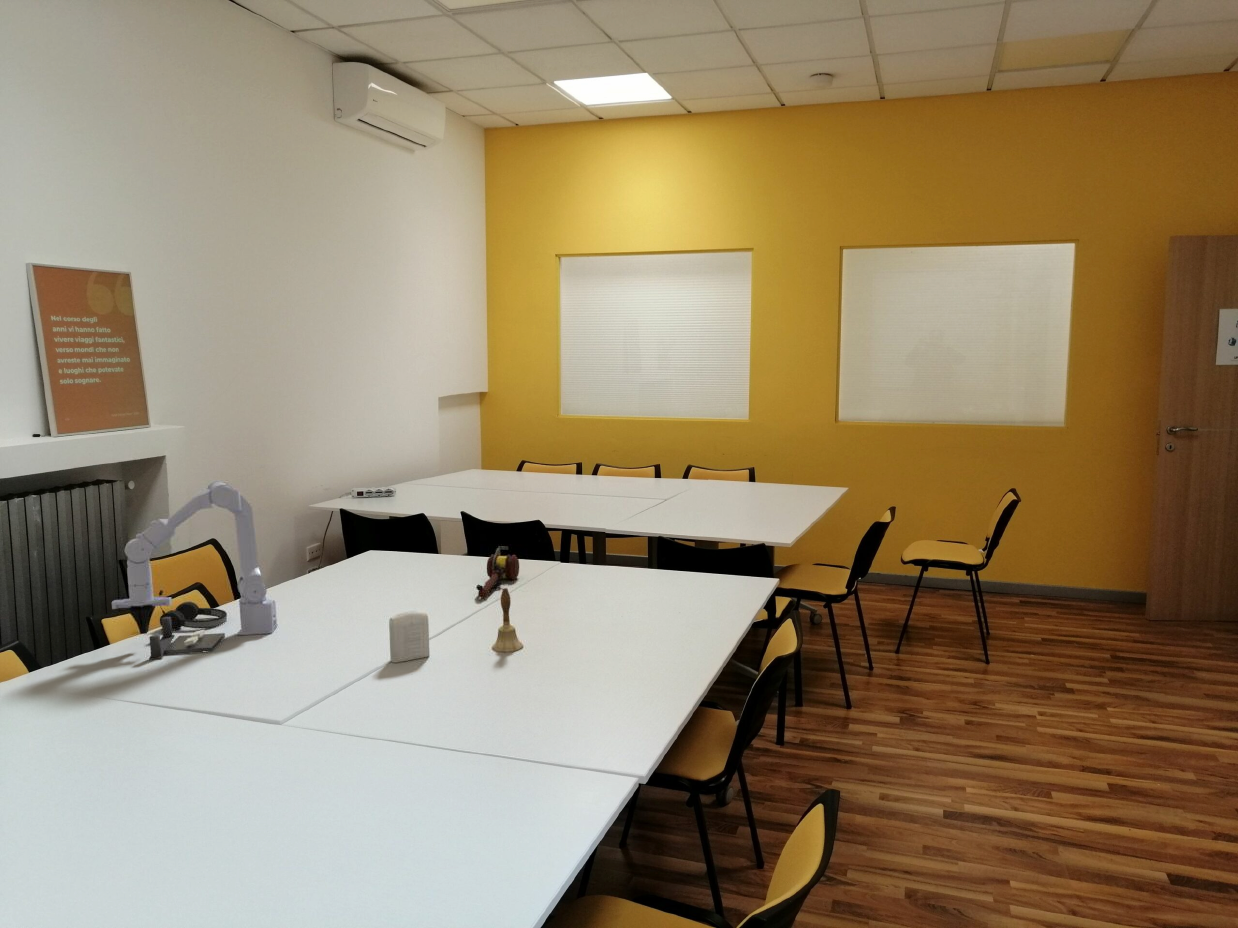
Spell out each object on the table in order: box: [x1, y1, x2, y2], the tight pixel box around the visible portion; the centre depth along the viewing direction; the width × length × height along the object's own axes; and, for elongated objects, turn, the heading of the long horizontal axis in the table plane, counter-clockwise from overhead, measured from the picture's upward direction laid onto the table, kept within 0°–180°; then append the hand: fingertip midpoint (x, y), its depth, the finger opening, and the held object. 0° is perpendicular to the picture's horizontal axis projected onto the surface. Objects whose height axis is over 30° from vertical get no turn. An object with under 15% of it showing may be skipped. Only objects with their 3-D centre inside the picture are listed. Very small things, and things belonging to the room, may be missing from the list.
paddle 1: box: [184, 636, 198, 646], centre depth 248 cm, size 2×4×1 cm, turn 9°
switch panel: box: [164, 632, 226, 656], centre depth 251 cm, size 12×13×1 cm
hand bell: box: [491, 587, 524, 653], centre depth 244 cm, size 8×8×16 cm
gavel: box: [476, 545, 520, 599], centre depth 309 cm, size 10×34×10 cm
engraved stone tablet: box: [388, 610, 430, 664], centre depth 237 cm, size 10×4×12 cm, turn 123°
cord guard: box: [148, 617, 175, 662], centre depth 250 cm, size 3×21×6 cm, turn 17°
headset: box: [158, 589, 228, 631], centre depth 272 cm, size 14×10×20 cm
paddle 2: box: [190, 629, 206, 637], centre depth 254 cm, size 2×4×1 cm, turn 9°
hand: (144, 632), depth 249 cm, fingers closed
